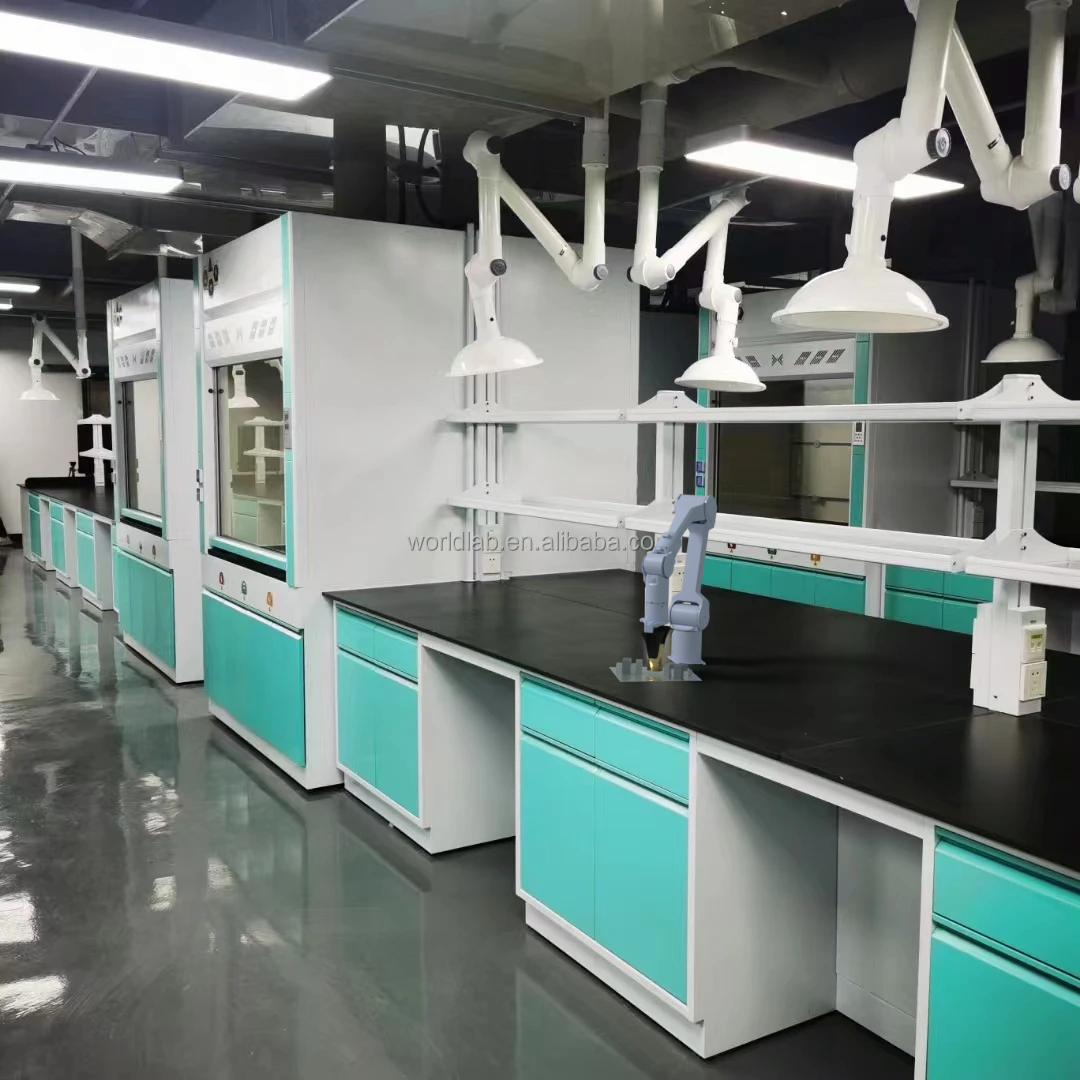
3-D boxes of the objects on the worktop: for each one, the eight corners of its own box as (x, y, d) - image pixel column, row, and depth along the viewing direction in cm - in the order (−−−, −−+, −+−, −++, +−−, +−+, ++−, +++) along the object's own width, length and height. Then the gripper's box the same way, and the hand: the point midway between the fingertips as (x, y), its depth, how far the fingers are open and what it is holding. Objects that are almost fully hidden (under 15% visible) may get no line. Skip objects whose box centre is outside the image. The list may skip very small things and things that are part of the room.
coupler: (645, 668, 254) (646, 639, 253) (661, 667, 254) (661, 639, 253) (648, 671, 250) (649, 643, 249) (664, 671, 250) (665, 643, 249)
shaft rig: (609, 668, 259) (609, 653, 258) (686, 667, 261) (686, 653, 261) (620, 683, 244) (620, 667, 244) (701, 682, 246) (702, 666, 246)
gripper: (649, 596, 258) (647, 649, 260) (632, 605, 245) (631, 660, 246) (676, 598, 256) (674, 652, 257) (661, 607, 242) (659, 663, 244)
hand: (655, 656), depth 252 cm, fingers closed on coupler, 4 cm apart
